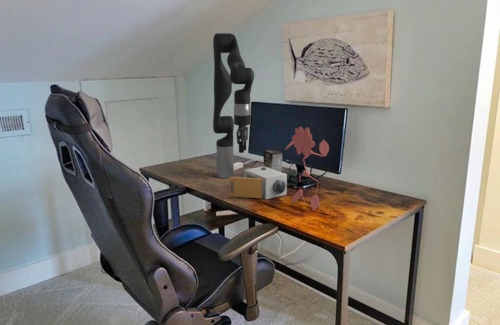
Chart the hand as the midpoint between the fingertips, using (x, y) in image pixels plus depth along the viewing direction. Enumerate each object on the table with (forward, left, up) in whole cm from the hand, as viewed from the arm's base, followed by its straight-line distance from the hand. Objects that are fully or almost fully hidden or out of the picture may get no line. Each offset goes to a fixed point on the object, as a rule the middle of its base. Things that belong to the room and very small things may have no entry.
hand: (242, 151), depth 174 cm
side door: (+4, 0, -21) cm, 21 cm away
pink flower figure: (+27, +12, -22) cm, 37 cm away
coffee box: (-12, +26, -22) cm, 36 cm away
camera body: (+1, +12, -21) cm, 24 cm away
